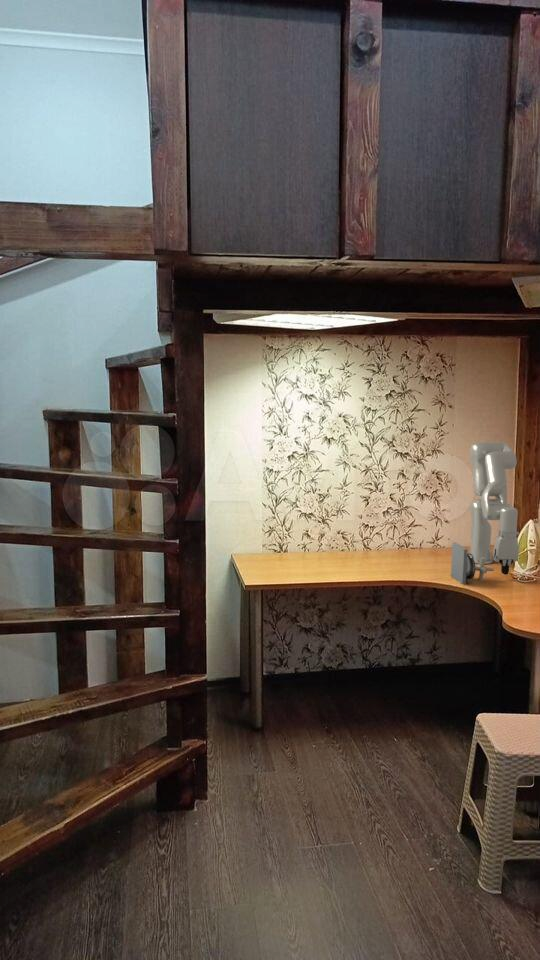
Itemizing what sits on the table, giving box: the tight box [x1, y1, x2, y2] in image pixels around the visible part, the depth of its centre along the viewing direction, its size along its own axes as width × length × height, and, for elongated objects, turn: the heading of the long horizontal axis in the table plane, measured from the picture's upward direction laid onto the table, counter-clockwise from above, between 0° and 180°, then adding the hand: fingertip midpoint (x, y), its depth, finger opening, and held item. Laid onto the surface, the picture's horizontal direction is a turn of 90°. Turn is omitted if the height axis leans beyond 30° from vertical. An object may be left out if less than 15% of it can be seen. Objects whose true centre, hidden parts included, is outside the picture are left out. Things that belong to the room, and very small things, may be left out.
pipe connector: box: [475, 558, 495, 581], centre depth 297 cm, size 10×10×10 cm
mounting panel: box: [450, 541, 473, 585], centre depth 296 cm, size 6×13×16 cm, turn 7°
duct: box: [466, 552, 476, 579], centre depth 296 cm, size 4×12×12 cm, turn 7°
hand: (504, 573), depth 299 cm, fingers closed
